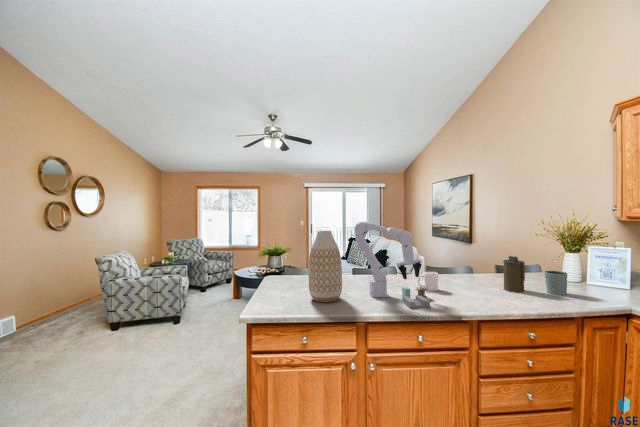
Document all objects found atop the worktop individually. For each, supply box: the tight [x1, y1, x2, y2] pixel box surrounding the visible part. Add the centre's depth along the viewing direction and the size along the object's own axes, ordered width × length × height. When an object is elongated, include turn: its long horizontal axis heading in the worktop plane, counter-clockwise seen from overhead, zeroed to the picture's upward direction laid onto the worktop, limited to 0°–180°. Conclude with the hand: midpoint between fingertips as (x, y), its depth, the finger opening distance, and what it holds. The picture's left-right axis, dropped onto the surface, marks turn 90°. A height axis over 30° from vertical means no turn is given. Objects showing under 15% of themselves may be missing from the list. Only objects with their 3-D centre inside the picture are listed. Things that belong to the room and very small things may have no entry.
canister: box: [502, 255, 526, 294], centre depth 171 cm, size 11×10×20 cm
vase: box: [308, 230, 343, 303], centre depth 160 cm, size 19×18×38 cm
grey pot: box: [544, 270, 568, 296], centre depth 164 cm, size 10×10×12 cm
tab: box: [401, 286, 411, 298], centre depth 157 cm, size 3×7×6 cm, turn 5°
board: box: [401, 295, 431, 309], centre depth 148 cm, size 10×10×3 cm
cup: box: [417, 271, 439, 292], centre depth 176 cm, size 8×12×10 cm
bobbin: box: [415, 286, 428, 300], centre depth 160 cm, size 6×6×5 cm
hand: (411, 278), depth 158 cm, fingers open, 7 cm apart
